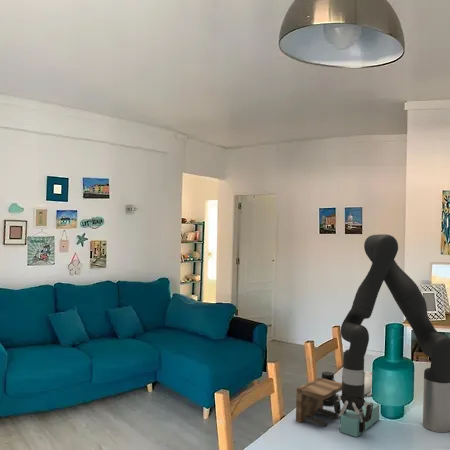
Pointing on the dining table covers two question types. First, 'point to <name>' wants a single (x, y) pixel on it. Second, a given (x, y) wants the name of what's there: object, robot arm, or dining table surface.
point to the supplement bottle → (330, 400)
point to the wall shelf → (315, 400)
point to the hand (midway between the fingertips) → (351, 429)
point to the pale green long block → (357, 420)
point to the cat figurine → (368, 383)
